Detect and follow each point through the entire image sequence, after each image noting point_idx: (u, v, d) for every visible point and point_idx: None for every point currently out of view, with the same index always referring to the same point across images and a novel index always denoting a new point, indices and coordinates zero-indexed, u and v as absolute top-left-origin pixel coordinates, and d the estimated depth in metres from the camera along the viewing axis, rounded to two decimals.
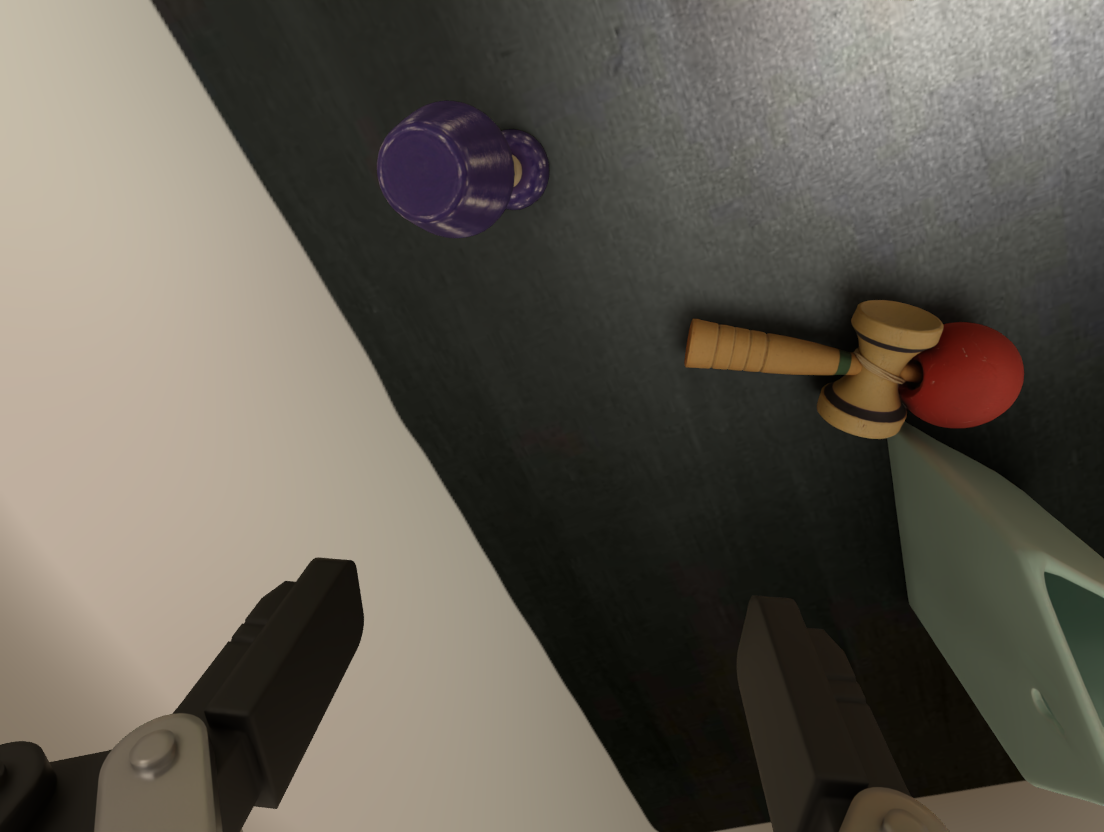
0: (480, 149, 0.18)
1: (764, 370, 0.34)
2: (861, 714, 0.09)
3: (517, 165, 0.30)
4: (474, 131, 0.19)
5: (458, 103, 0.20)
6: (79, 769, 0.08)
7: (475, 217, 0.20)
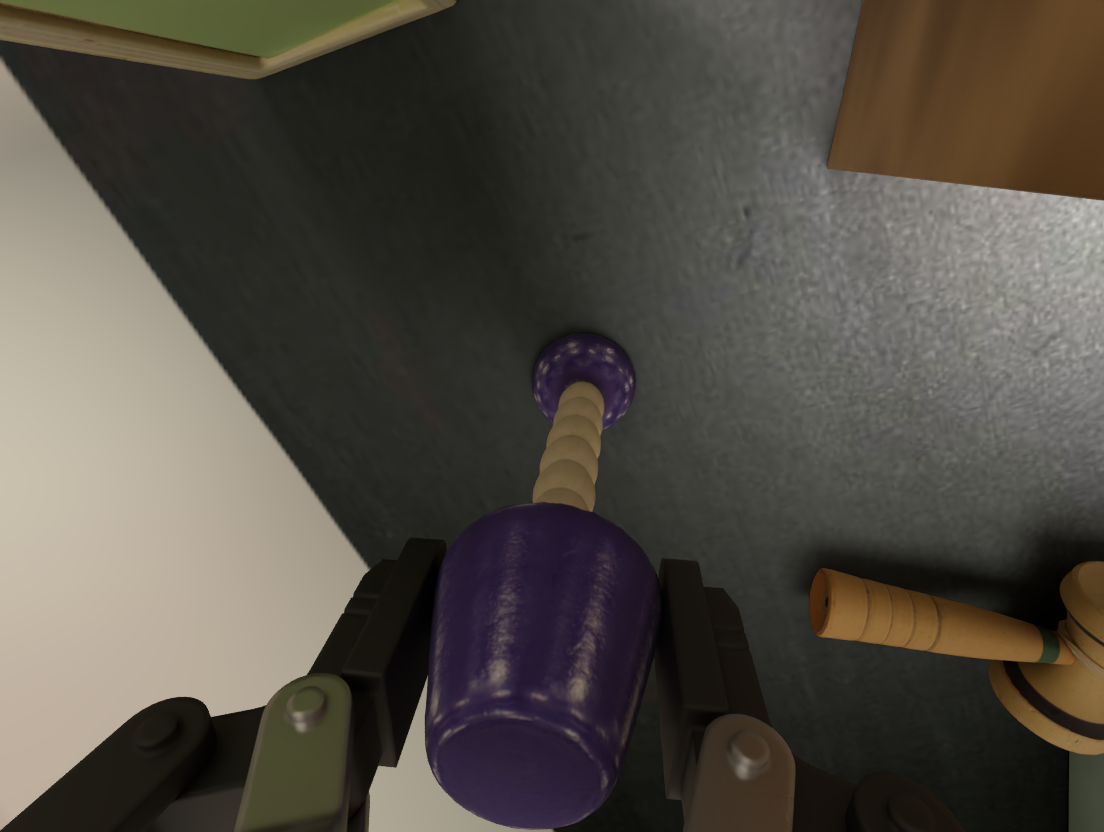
0: (631, 676, 0.09)
1: (930, 651, 0.24)
2: (742, 659, 0.10)
3: (600, 405, 0.21)
4: (617, 632, 0.09)
5: (571, 528, 0.10)
6: (232, 724, 0.08)
7: None
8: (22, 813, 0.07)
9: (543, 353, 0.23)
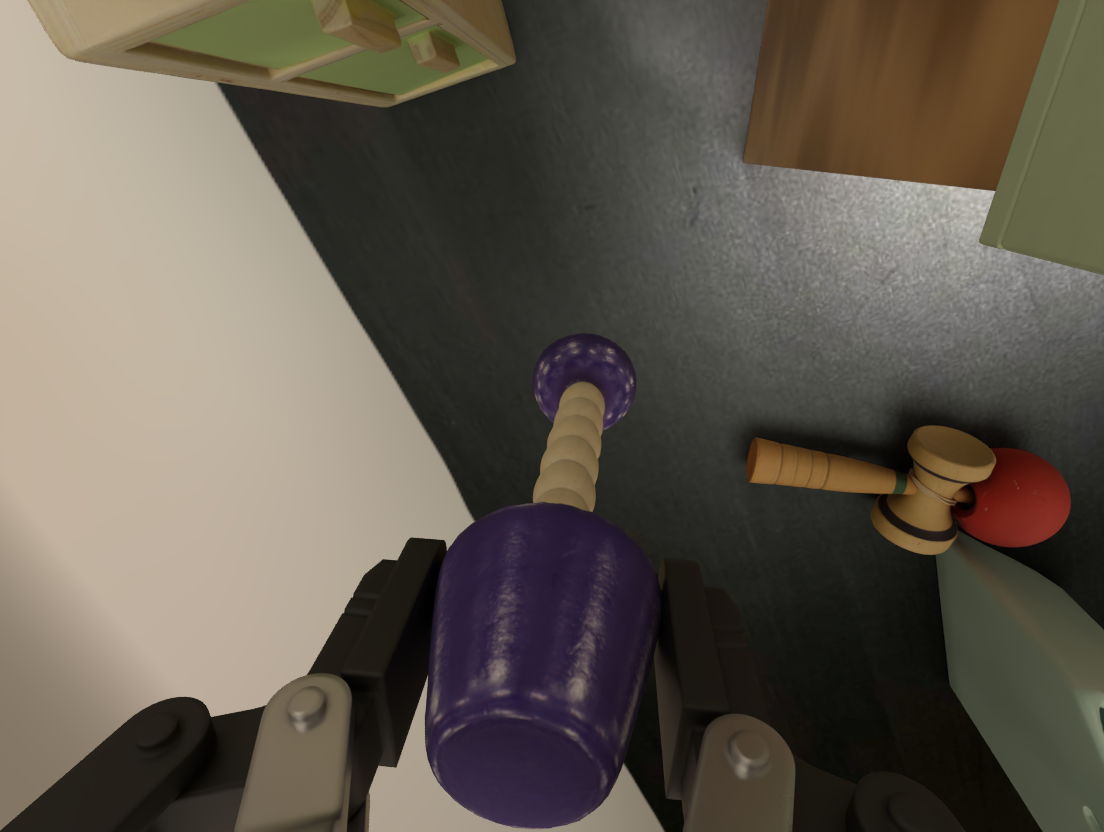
0: (631, 676, 0.09)
1: (824, 488, 0.36)
2: (742, 659, 0.10)
3: (601, 406, 0.21)
4: (617, 632, 0.09)
5: (571, 528, 0.10)
6: (232, 724, 0.08)
7: None
8: (22, 813, 0.07)
9: (544, 353, 0.23)
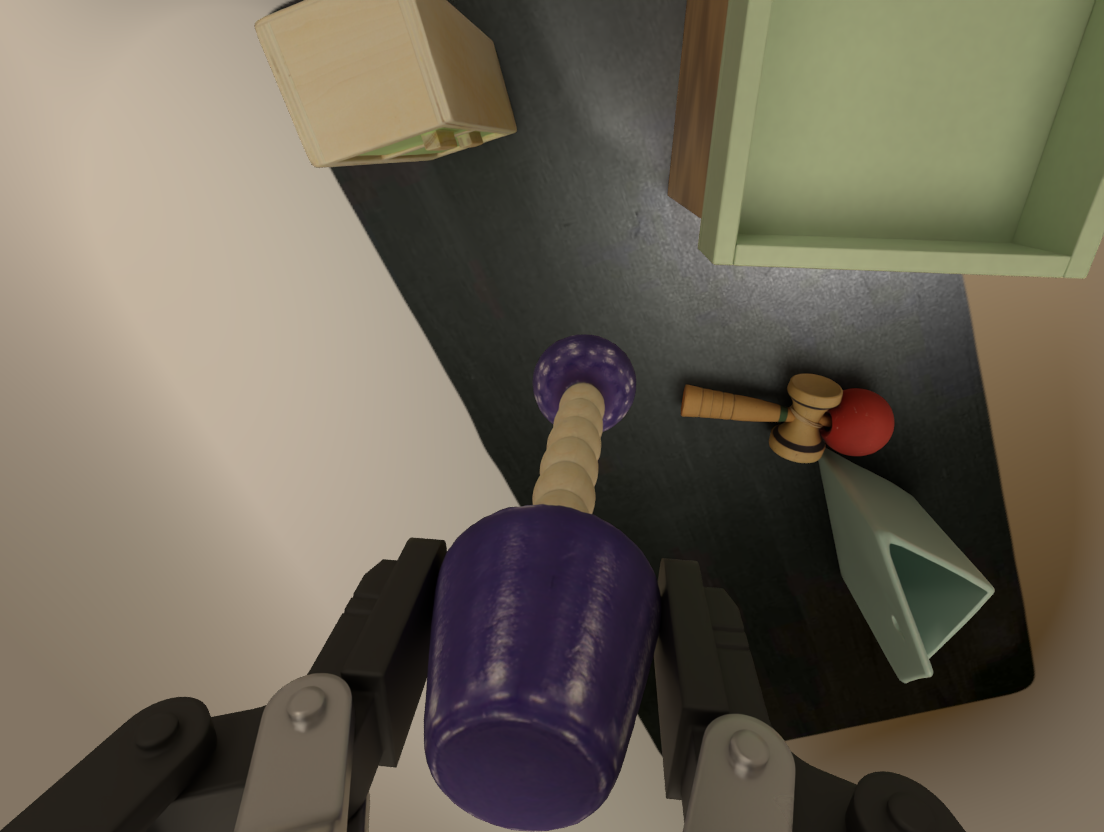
0: (630, 679, 0.09)
1: (732, 418, 0.52)
2: (742, 659, 0.10)
3: (600, 407, 0.21)
4: (615, 634, 0.09)
5: (570, 530, 0.10)
6: (232, 724, 0.08)
7: None
8: (22, 811, 0.07)
9: (544, 354, 0.23)
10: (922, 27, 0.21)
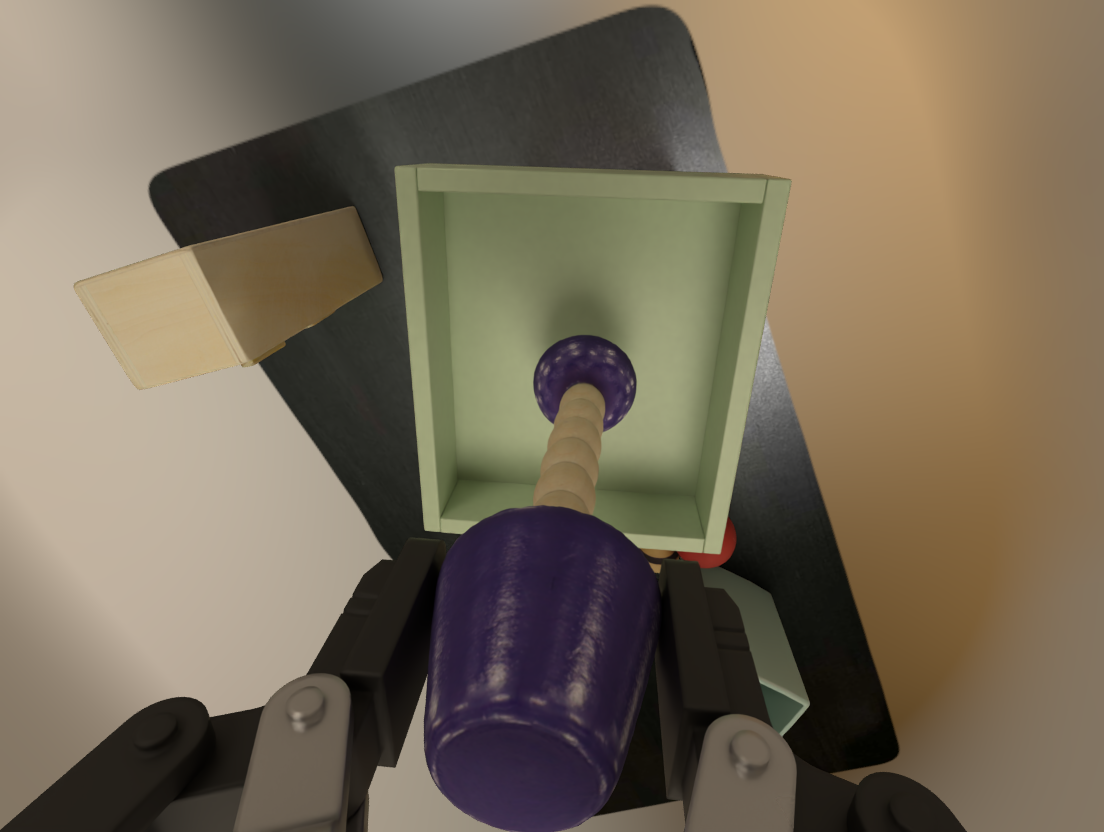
0: (631, 681, 0.09)
1: None
2: (743, 659, 0.10)
3: (601, 407, 0.21)
4: (616, 636, 0.09)
5: (571, 531, 0.10)
6: (231, 724, 0.08)
7: None
8: (21, 813, 0.07)
9: (544, 354, 0.23)
10: None
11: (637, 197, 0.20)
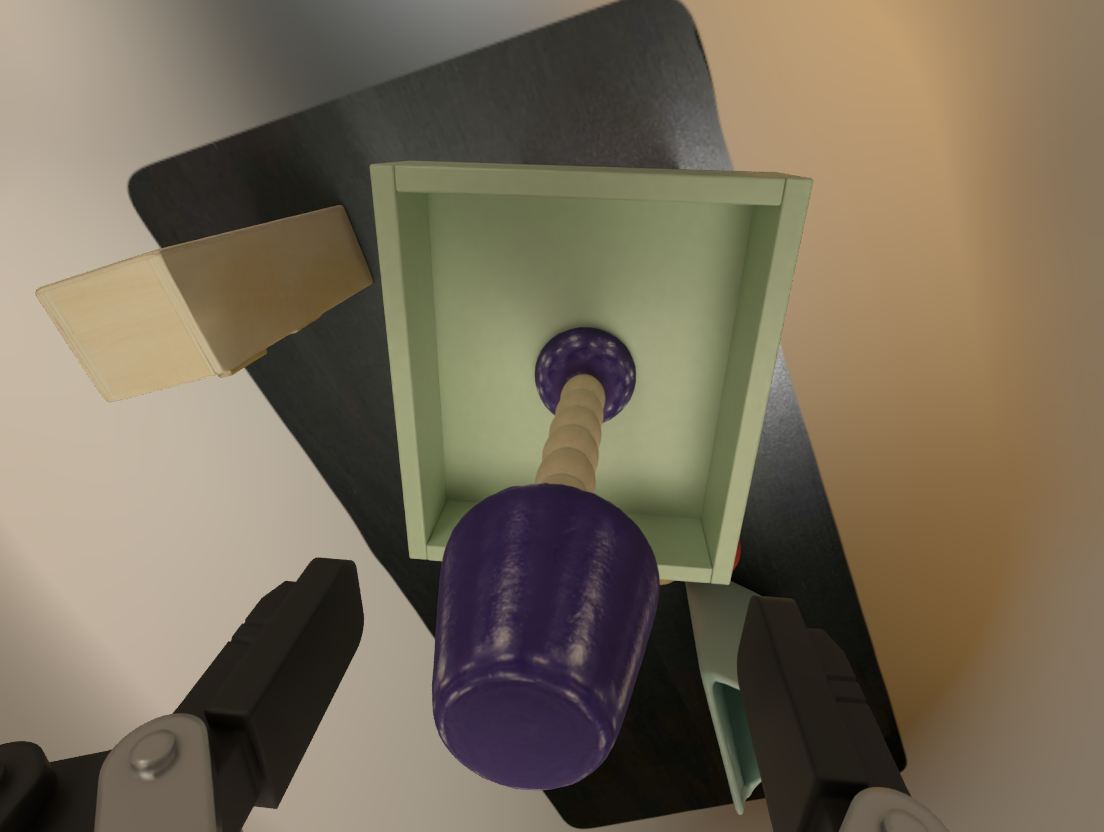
0: (629, 646, 0.10)
1: None
2: (861, 714, 0.09)
3: (601, 397, 0.21)
4: (615, 603, 0.10)
5: (572, 507, 0.11)
6: (79, 769, 0.08)
7: None
8: None
9: (545, 347, 0.23)
10: None
11: (640, 199, 0.18)
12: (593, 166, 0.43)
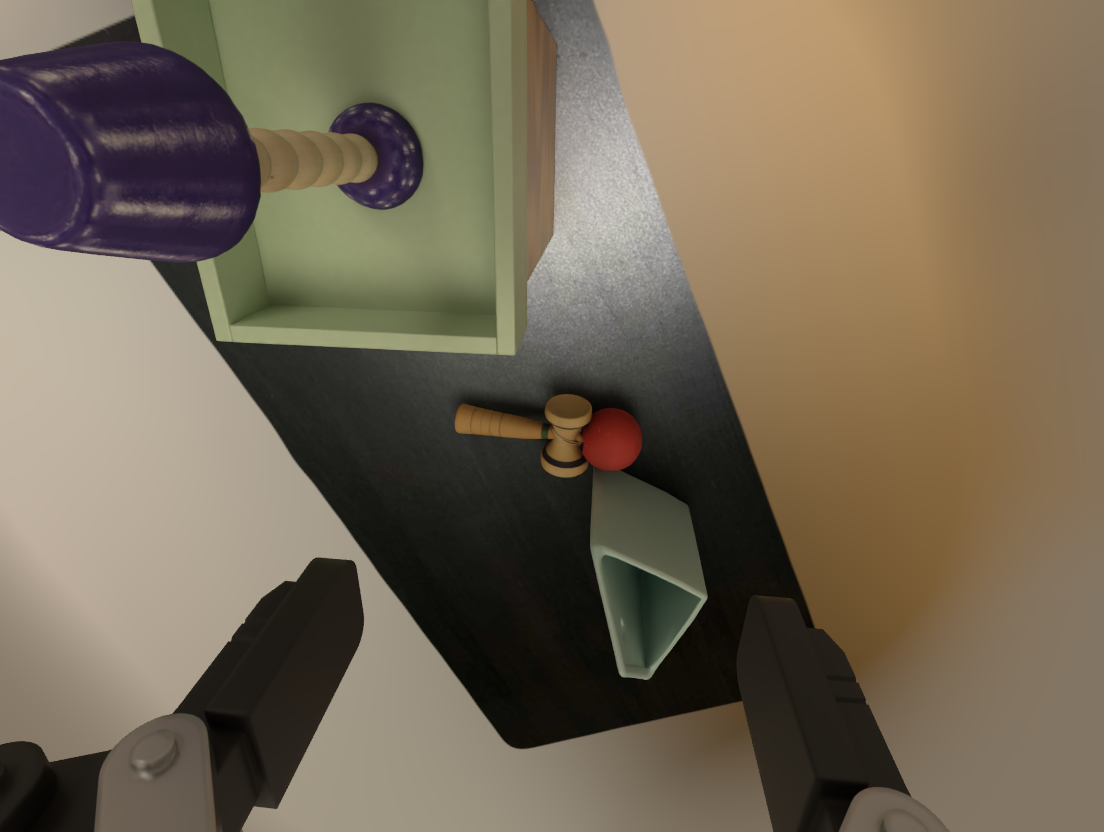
0: (140, 118, 0.11)
1: (501, 436, 0.56)
2: (861, 714, 0.09)
3: (364, 150, 0.22)
4: (133, 87, 0.11)
5: (136, 44, 0.12)
6: (79, 769, 0.08)
7: (170, 234, 0.12)
8: None
9: None
10: None
11: None
12: None
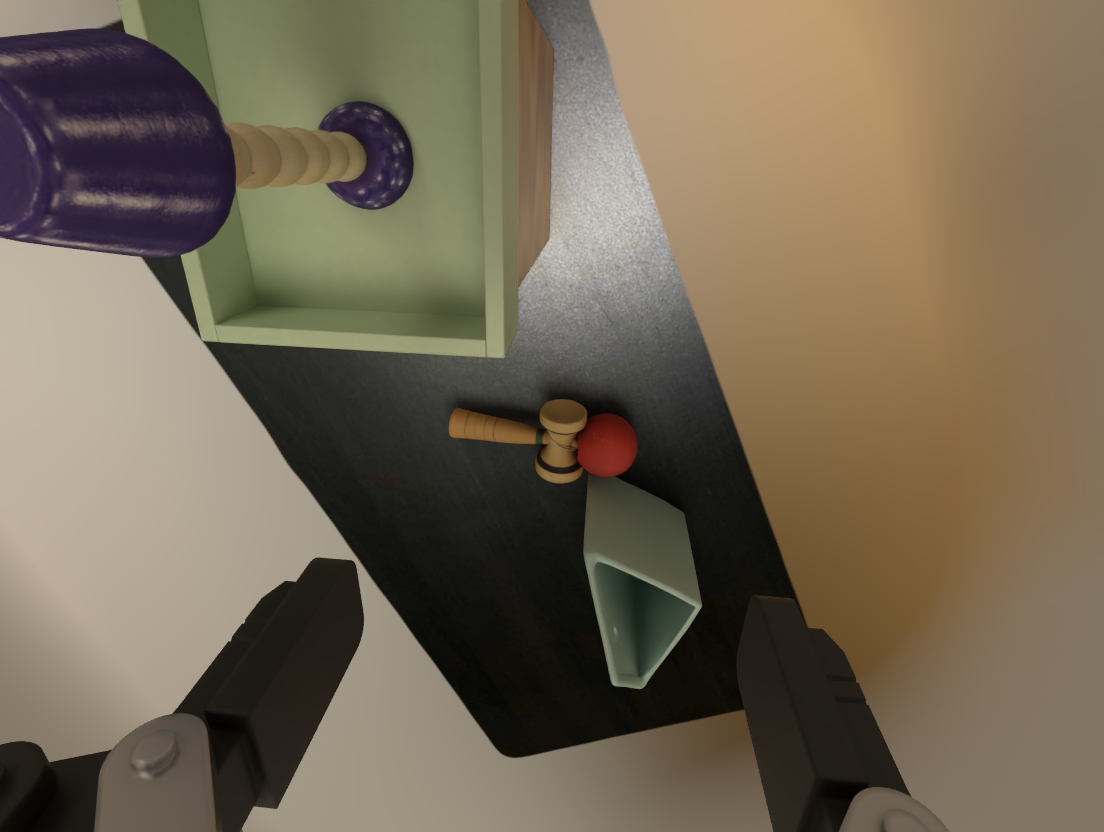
0: (105, 106, 0.10)
1: (495, 440, 0.55)
2: (861, 714, 0.09)
3: (352, 149, 0.22)
4: (98, 73, 0.10)
5: (106, 31, 0.12)
6: (78, 769, 0.08)
7: (138, 227, 0.12)
8: None
9: None
10: None
11: None
12: None
